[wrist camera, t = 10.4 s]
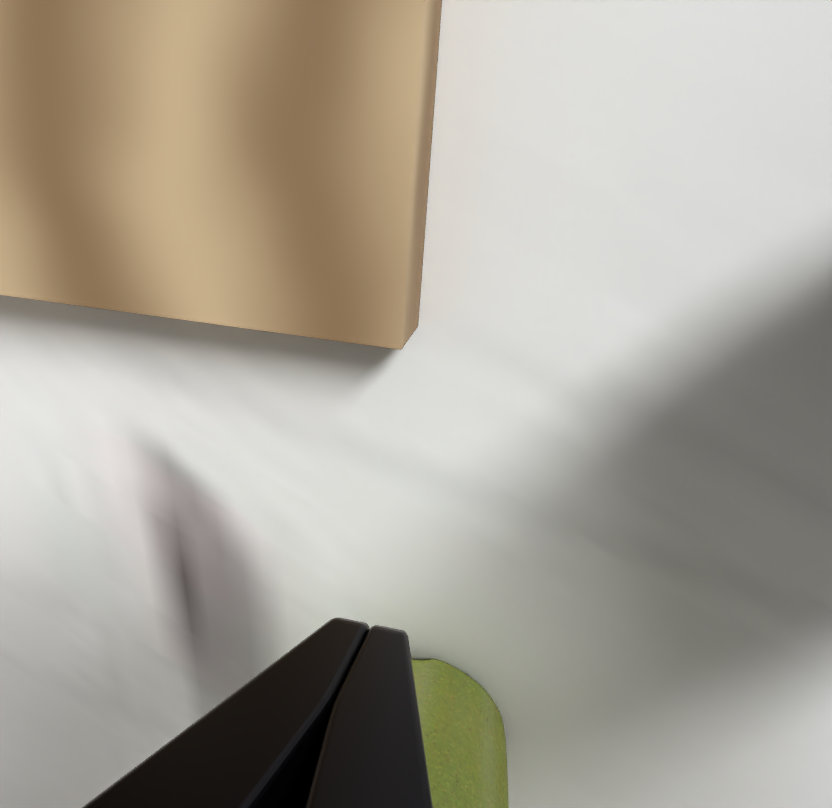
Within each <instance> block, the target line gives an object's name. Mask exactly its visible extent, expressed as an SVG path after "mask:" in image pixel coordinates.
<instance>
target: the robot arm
mask: <svg viewBox="0 0 832 808" xmlns="http://www.w3.org/2000/svg"><path fill="white" fill-rule="evenodd" d="M82 808H433V804H432V798H431V791H430V784H429V777H428V770H427V763H426V756H425V750H424V743H423V736H422V729H421V722H420V715H419V709H418V702H417V695H416V688H415V681H414V674H413V668H412V661H411V654H410V647H409V640H408V635H407V634H406V632H405V631H403V630H398V629H393V628H388V627H383V626H378V625H375V626H373V627H371V628H369V626H368V625H367V624H366V623H364V622H359V621H354V620H349V619H344V618H334V619H332V620H330V621H329V622H327V623H326V624H325V625H323V626H322V627H321V628H319V629H318V630H317V631H315V632H314V633H313V634H311V635H310V636H309V637H307V638H306V639H305V640H303V641H302V642H301V643H299V644H298V645H297V646H295V647H294V648H293V649H291V650H290V651H289V652H288V653H286V654H285V655H284V656H282V657H281V658H280V659H278V660H277V661H276V662H274V663H273V664H272V665H270V666H269V667H268V668H266V669H265V670H264V671H262V672H261V673H260V674H258V675H257V676H256V677H254V678H253V679H252V680H250V681H249V682H248V683H246V684H245V685H244V686H243V687H241V688H240V689H239V690H237V691H236V692H235V693H233V694H232V695H231V696H229V697H228V698H227V699H225V700H224V701H223V702H221V703H220V704H219V705H217V706H216V707H215V708H213V709H212V710H211V711H209V712H208V713H207V714H205V715H204V716H203V717H201V718H200V719H199V720H198V721H196V722H195V723H194V724H192V725H191V726H190V727H188V728H187V729H186V730H184V731H183V732H182V733H180V734H179V735H178V736H176V737H175V738H174V739H172V740H171V741H170V742H168V743H167V744H166V745H164V746H163V747H162V748H160V749H159V750H158V751H156V752H155V753H154V754H153V755H151V756H150V757H149V758H147V759H146V760H145V761H143V762H142V763H141V764H139V765H138V766H137V767H135V768H134V769H133V770H131V771H130V772H129V773H127V774H126V775H125V776H123V777H122V778H121V779H119V780H118V781H117V782H115V783H114V784H113V785H111V786H110V787H109V788H108V789H106V790H105V791H104V792H102V793H101V794H100V795H98V796H97V797H96V798H94V799H93V800H92V801H90V802H89V803H88V804H86V805H85V806H84V807H82Z"/></svg>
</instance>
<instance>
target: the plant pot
mask: <svg viewBox="0 0 832 808" xmlns="http://www.w3.org/2000/svg"><path fill="white" fill-rule="evenodd" d="M411 661H412V668H413V674H414V681H415V688H416V695H417V702H418V709H419V715H420V722H421V729H422V736H423V743H424V750H425V756H426V763H427V770H428V777H429V784H430V791H431V798H432V804H433V808H508V781H507V758H506V741H505V733H504V727H503V721H502V718H501V715H500V712H499V710H498V708H497V706H496V705H495V703H494V701H493V700H492V698H491V697H490V696H489V695H488V693H487V692H486V691H485V690H484V689H483V688H482V687H481V686H480V685H479V684H478V683H477V682H476V681H474V680H473V679H472V678H471V677H469V676H468V675H466V674H465V673H464V672H462V671H460V670H459V669H457V668H455V667H453V666H451V665H449V664H447V663H445V662H443V661H439V660H435V659H432V660H412V659H411Z"/></svg>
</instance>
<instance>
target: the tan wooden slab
mask: <svg viewBox="0 0 832 808" xmlns="http://www.w3.org/2000/svg"><path fill="white" fill-rule="evenodd" d="M441 7H442V0H0V295H6V296H13V297H20V298H27V299H35V300H42V301H49V302H57V303H64V304H71V305H79V306H86V307H93V308H101V309H108V310H115V311H122V312H130V313H137V314H144V315H152V316H159V317H166V318H174V319H181V320H188V321H195V322H203V323H210V324H217V325H225V326H232V327H239V328H247V329H254V330H261V331H269V332H276V333H283V334H290V335H298V336H305V337H312V338H320V339H327V340H334V341H342V342H349V343H356V344H363V345H371V346H378V347H385V348H393V349H400V350H401V349H402V348H403V346H404V345H405V344H406V342H407V341H408V339H409V338H410V337H411V335H412V334H413V332H414V331H415V330H416V328H417V327H418V320H419V306H420V292H421V279H422V265H423V252H424V238H425V224H426V211H427V197H428V184H429V170H430V156H431V143H432V129H433V116H434V102H435V88H436V75H437V61H438V47H439V34H440V20H441Z"/></svg>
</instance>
